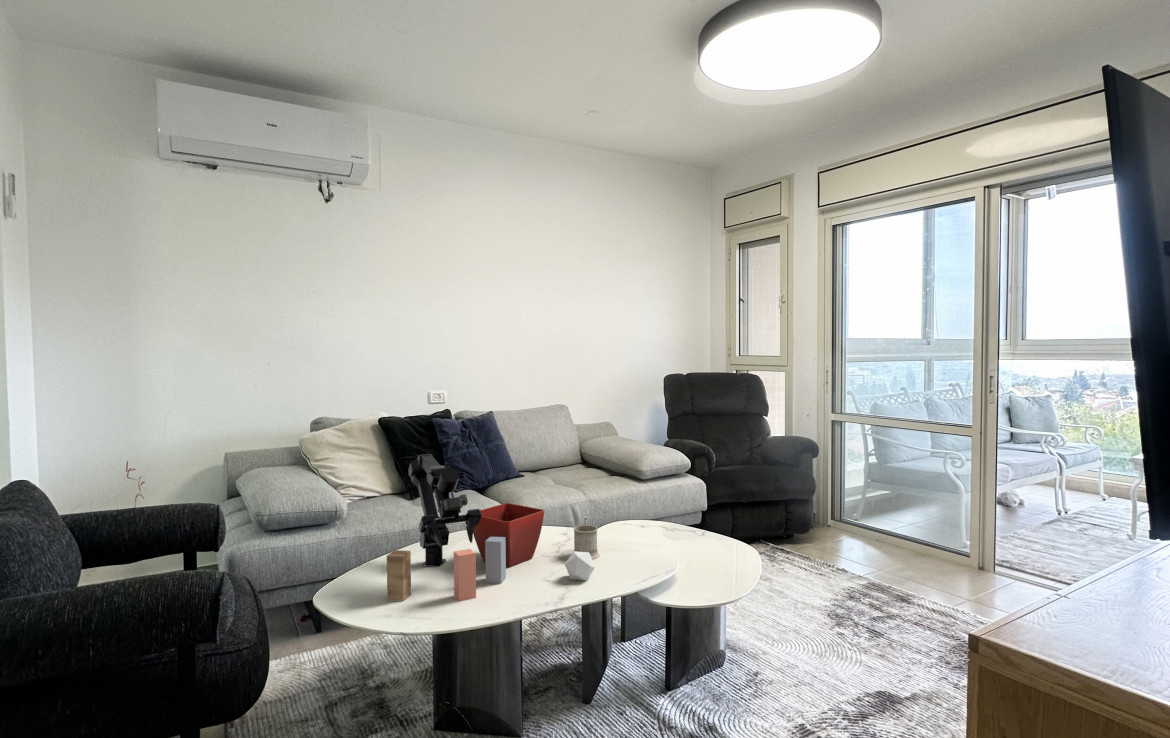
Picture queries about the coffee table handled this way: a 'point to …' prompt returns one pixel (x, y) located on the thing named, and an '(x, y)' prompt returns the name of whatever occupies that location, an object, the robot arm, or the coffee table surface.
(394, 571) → the walnut pillar
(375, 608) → the coffee table surface
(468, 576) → the salmon block
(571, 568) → the die
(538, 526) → the plant pot
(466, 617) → the coffee table surface
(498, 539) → the slate pillar
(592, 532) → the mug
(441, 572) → the coffee table surface
